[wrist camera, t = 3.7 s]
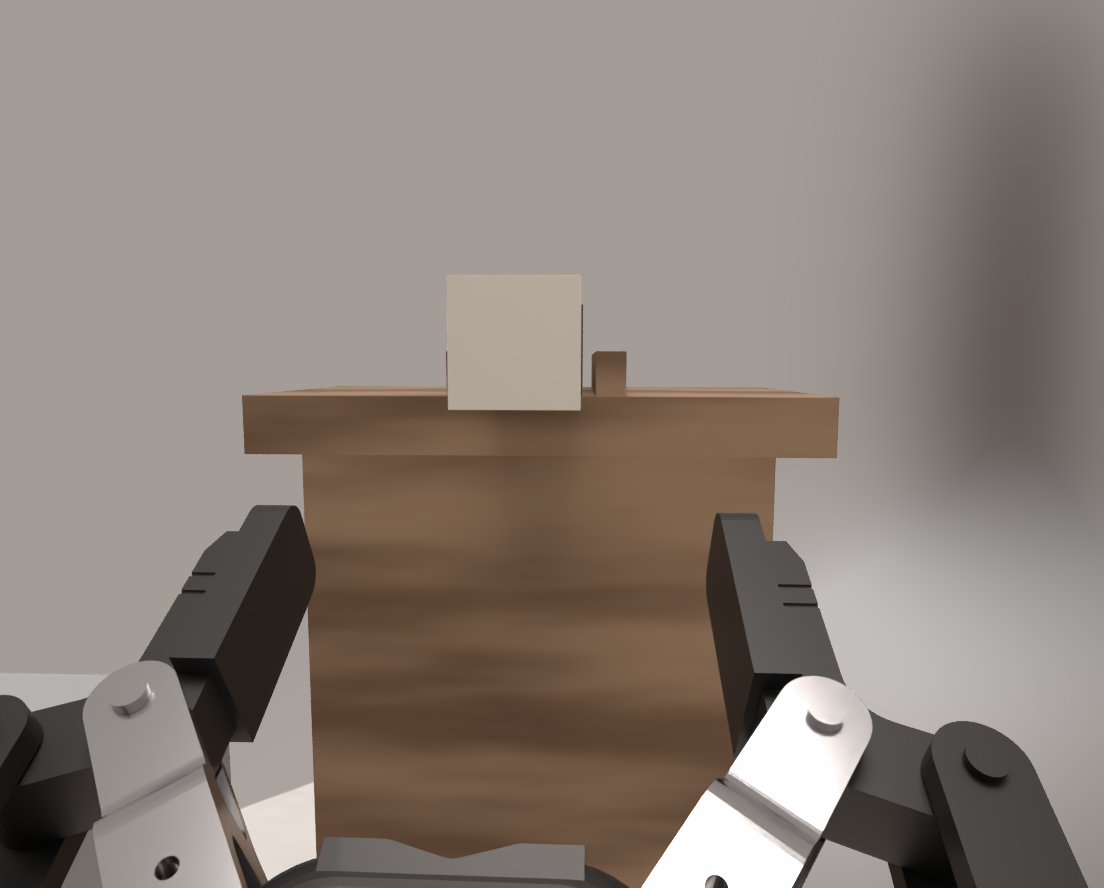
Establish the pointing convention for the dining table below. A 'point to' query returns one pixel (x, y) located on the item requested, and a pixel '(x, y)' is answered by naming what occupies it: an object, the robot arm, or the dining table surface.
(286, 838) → the dining table surface
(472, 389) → the domino bar
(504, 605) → the walnut shelf
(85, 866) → the grey step block
